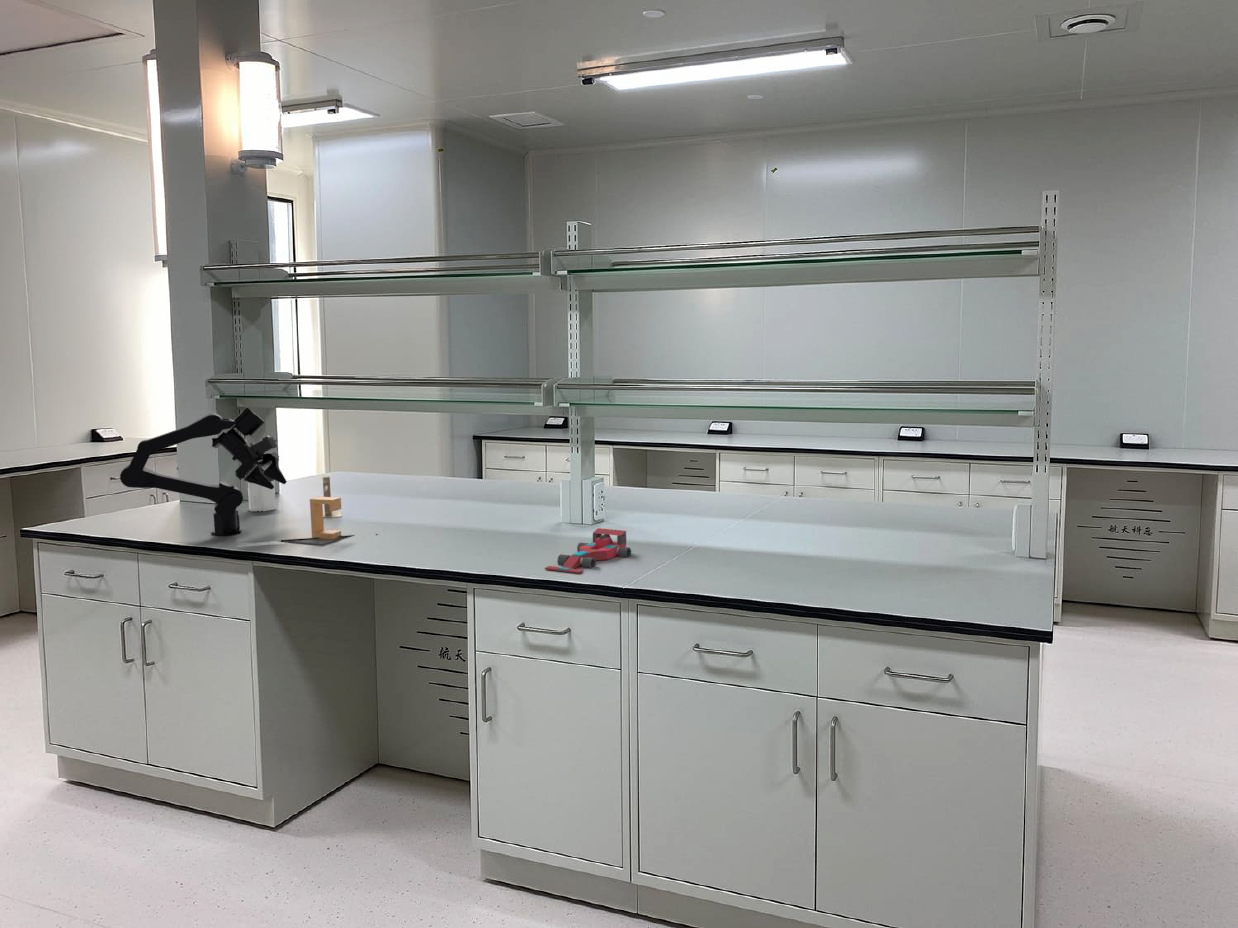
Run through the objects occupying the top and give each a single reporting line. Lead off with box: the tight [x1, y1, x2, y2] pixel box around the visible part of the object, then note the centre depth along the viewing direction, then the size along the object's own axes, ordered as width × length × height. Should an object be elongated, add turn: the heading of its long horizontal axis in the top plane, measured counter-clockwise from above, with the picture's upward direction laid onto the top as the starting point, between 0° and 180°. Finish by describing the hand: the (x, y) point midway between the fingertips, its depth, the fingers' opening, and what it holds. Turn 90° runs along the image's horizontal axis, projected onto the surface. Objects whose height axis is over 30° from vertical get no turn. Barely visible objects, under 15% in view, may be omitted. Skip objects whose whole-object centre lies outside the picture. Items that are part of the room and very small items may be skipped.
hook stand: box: [322, 476, 343, 519], centre depth 294 cm, size 8×20×13 cm, turn 16°
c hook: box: [309, 496, 342, 539], centre depth 269 cm, size 7×4×11 cm, turn 73°
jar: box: [246, 476, 277, 513], centre depth 317 cm, size 9×8×12 cm
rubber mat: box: [280, 534, 355, 546], centre depth 271 cm, size 14×14×1 cm
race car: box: [544, 528, 632, 574], centre depth 240 cm, size 14×6×25 cm
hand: (279, 485), depth 279 cm, fingers open, 9 cm apart
